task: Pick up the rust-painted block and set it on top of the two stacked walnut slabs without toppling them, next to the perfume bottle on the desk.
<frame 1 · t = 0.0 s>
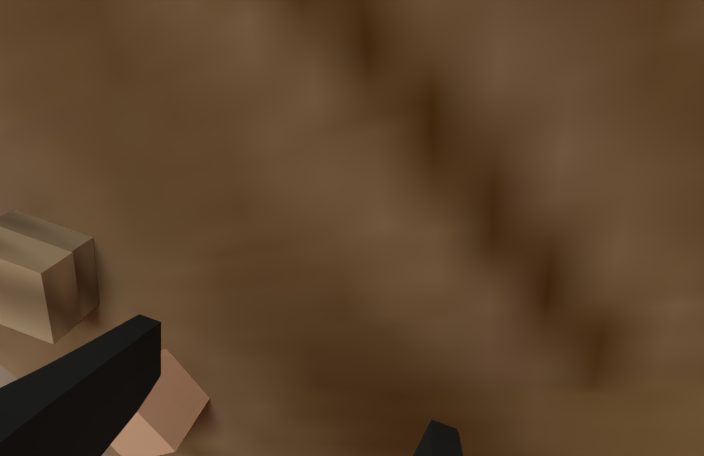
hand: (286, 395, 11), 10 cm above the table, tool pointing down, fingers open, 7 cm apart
block: (166, 380, 29), on the table
slab upper: (37, 273, 25), point 2 cm above the table, touching slab lower
slab lower: (64, 254, 26), on the table, touching slab upper
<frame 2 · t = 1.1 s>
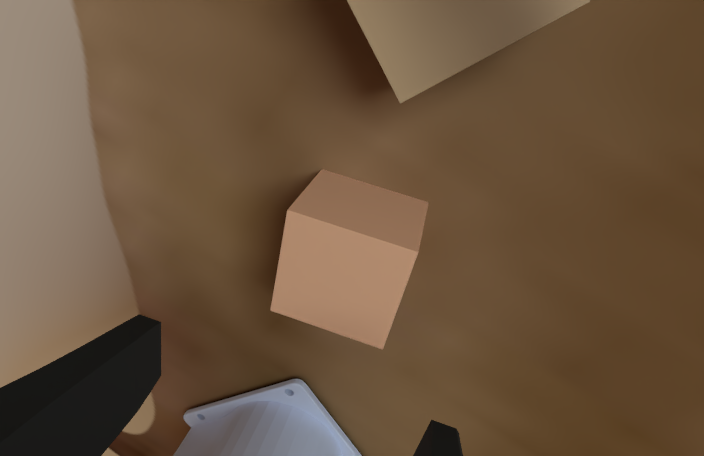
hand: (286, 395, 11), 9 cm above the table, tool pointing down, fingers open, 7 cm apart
block: (362, 230, 19), on the table
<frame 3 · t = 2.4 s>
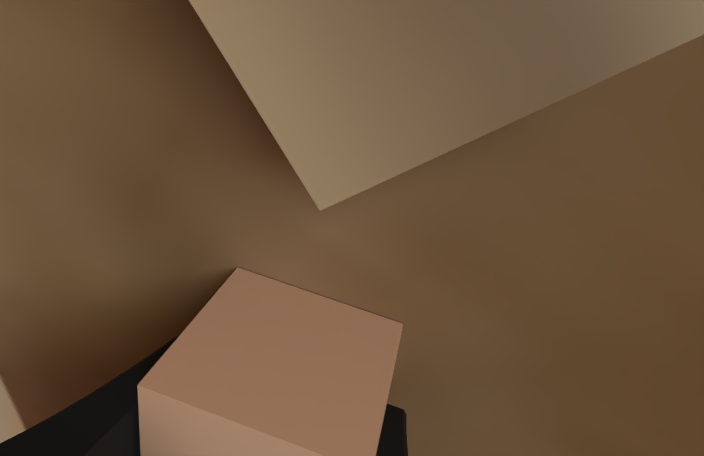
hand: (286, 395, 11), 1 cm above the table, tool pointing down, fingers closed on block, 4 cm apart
block: (304, 355, 12), on the table, touching gripper
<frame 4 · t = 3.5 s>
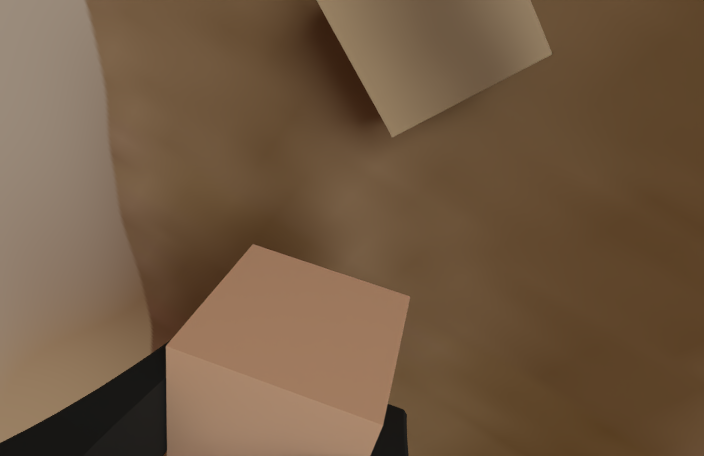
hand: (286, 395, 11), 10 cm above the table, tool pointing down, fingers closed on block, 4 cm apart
block: (315, 328, 13), point 8 cm above the table, touching gripper
slab upper: (432, 15, 14), point 2 cm above the table, touching slab lower
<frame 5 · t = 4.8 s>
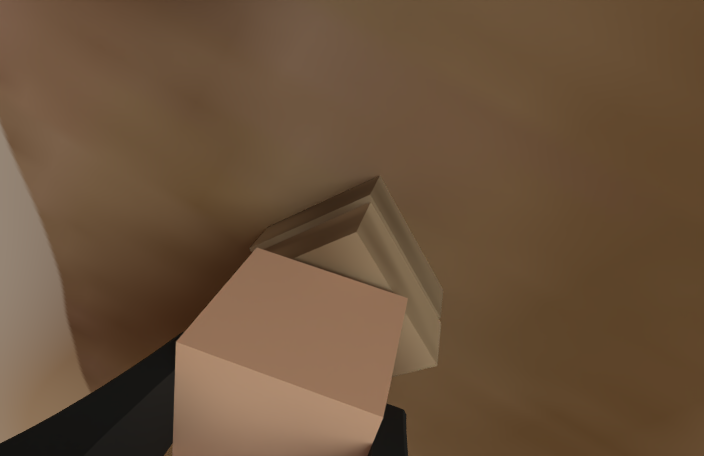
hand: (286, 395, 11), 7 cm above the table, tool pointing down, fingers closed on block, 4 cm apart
block: (316, 330, 13), point 4 cm above the table, touching gripper
slab upper: (344, 288, 15), point 2 cm above the table, touching slab lower
slab lower: (356, 253, 17), on the table, touching slab upper
when the fingers open (6 cm above the table, at t = 5.3 s): block stays where it is, resting on slab upper.
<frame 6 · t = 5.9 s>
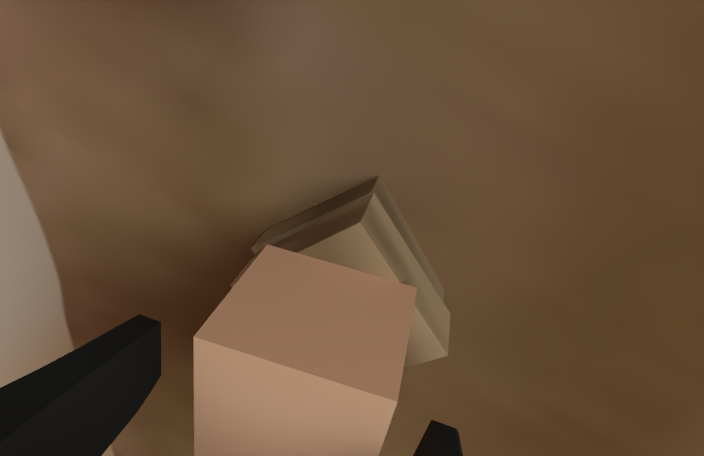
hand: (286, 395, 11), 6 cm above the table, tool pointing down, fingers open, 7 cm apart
block: (328, 323, 14), point 3 cm above the table, touching slab upper
slab upper: (351, 282, 15), point 1 cm above the table, touching block, slab lower
slab lower: (357, 251, 17), on the table, touching slab upper
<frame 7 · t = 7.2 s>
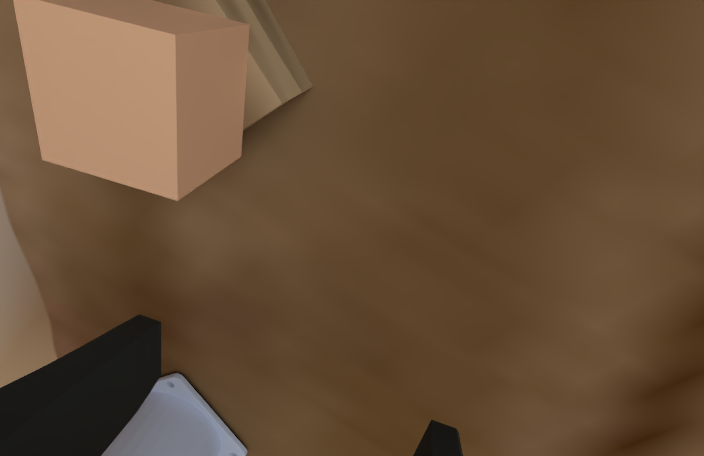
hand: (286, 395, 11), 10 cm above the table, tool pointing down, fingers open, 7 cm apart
block: (185, 79, 15), point 3 cm above the table, touching slab upper
slab upper: (216, 67, 17), point 1 cm above the table, touching block, slab lower
slab lower: (238, 58, 19), on the table, touching slab upper
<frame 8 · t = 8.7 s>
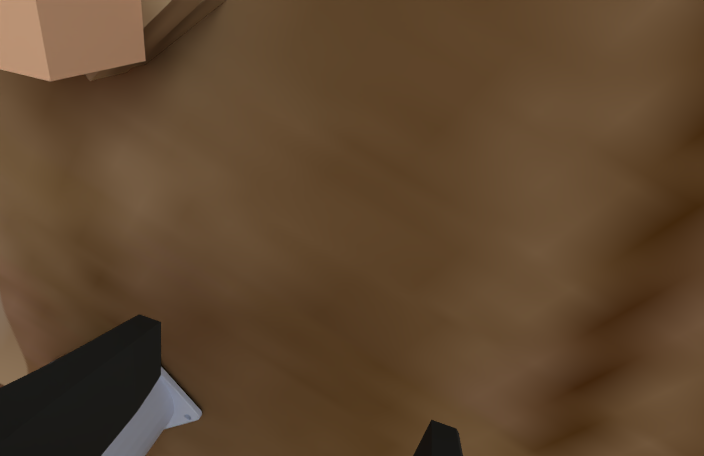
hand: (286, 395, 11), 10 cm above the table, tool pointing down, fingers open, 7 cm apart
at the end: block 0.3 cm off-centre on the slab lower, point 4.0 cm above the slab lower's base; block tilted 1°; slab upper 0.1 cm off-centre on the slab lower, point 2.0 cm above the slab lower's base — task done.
